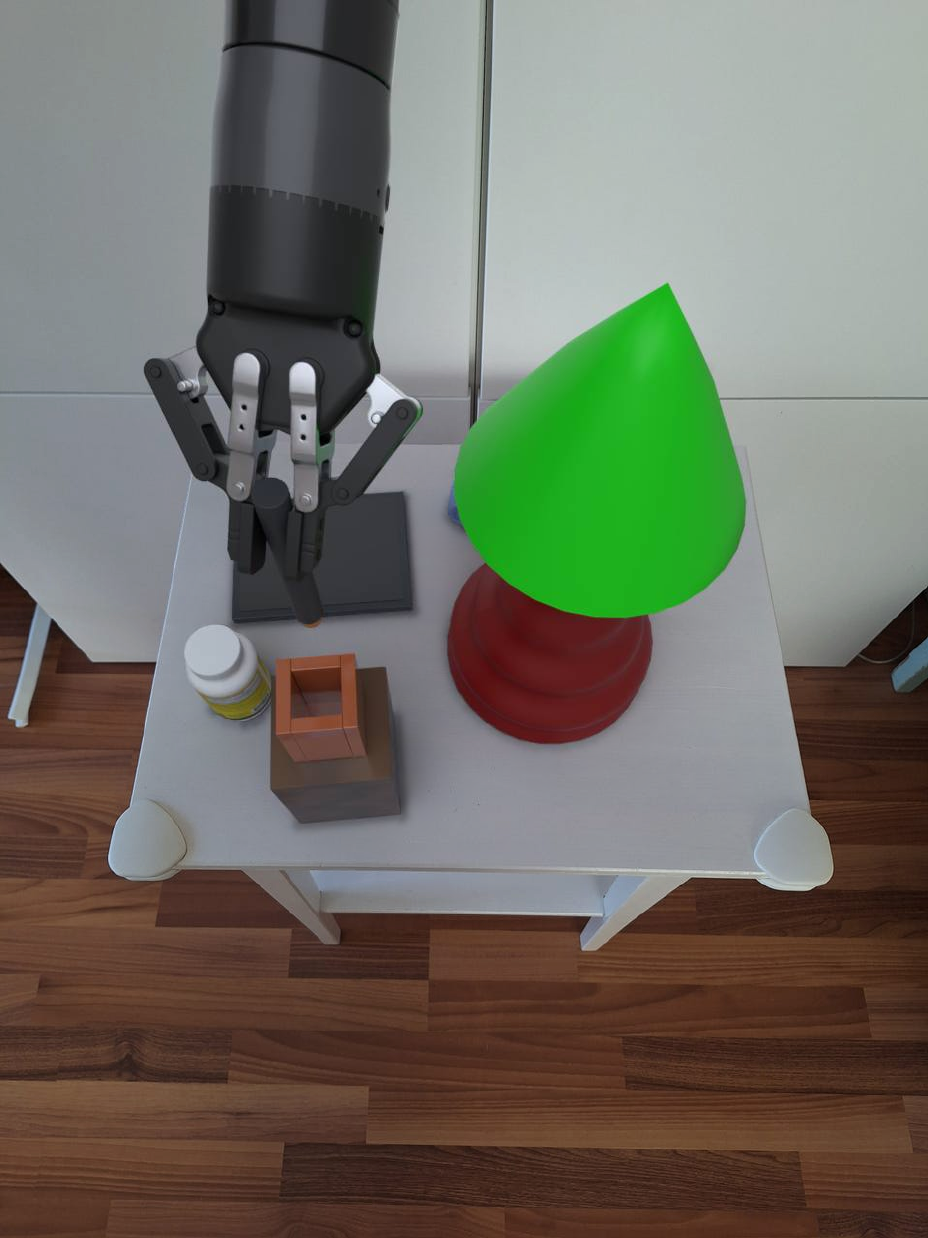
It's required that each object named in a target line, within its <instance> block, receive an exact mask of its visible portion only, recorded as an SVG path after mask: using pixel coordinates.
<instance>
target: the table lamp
mask: <svg viewBox="0 0 928 1238" xmlns="http://www.w3.org/2000/svg"><path fill="white" fill-rule="evenodd" d="M731 437H732V436H731V433H730V430H729V427H728V424H727V420H726V416H725V413H724V410H723V406H722V403H721V400H720V396H719V391H718V388H717V385H716V381H715V379H714V377H713V375H712V372H711V370H710V368H709V366H708V364H707V362H706V359H705V357H704V355H703V353H702V350H701V348H700V346H699V343H698V341H697V339H696V336H695V335H694V332H693V330H692V329H691V327H690V324H689V322H688V320H687V317H686V316H685V314H684V312H683V310H682V308H681V306H680V304H679V302H678V300H677V298H676V295H675V294H674V292H673V290H672V288H671V285H670V284H669V282H665V283H664V284H662V285H661V286H659V287H657V288H656V289H653V290H652V291H651V292H649V293H647V294H646V295H643V296H642V297H640V298H638V299H636V300H635V301H634V302H632V303H630V304H628V305H626V306H625V307H623V308H621V309H620V310H618V311H616V312H615V313H613V314H611V315H610V316H608V317H606V318H605V319H603V320H602V321H600V322H598V323H597V324H595V325H594V326H592V327H591V328H589V329H587V330H586V331H584V332H583V333H581V334H579V335H578V336H576V337H574V338H573V339H571V340H570V341H568V342H567V343H566V344H564V345H563V346H562V347H561V348H559V350H557V351H556V352H555V353H553V354H552V355H551V356H550V357H549V358H548V359H546V360H545V361H543V362H542V363H541V364H539V366H537V367H536V368H535V369H534V370H533V371H531V372H530V373H528V375H526V376H525V377H524V378H522V380H520V381H519V382H518V383H517V384H515V385H514V386H513V387H512V388H510V389H509V390H508V391H507V392H506V393H504V394H503V395H502V396H501V397H500V398H498V399H497V400H496V401H494V403H492V404H491V405H489V407H487V408H486V409H485V410H484V412H482V414H481V415H480V416H479V417H478V418H477V420H476V421H475V422H474V423H473V424H472V426H471V427H470V429H469V431H468V432H467V434H466V436H465V438H464V440H463V442H462V443H461V446H459V447H460V448H459V451H458V456H457V459H456V462H455V466H454V477H453V478H454V480H453V481H454V495H455V500H456V504H457V509H458V514H459V518H460V520H461V523H462V525H461V526H462V527H463V530H464V531H465V533H466V535H467V538H468V539H469V542H470V544H471V545H472V546H473V547H474V549H475V551H477V553H478V554H479V556H480V557H481V558H482V559H483V560H484V563H483V564H481V565H480V566H479V567H478V568H477V569H475V571H473V572H472V574H471V575H470V576H469V577H468V579H467V580H466V581H465V582H464V584H463V585H462V586H461V589H460V591H459V593H458V594H457V597H456V599H455V601H454V604H453V608H452V612H451V617H450V623H449V627H448V631H447V636H446V637H447V641H446V642H447V643H446V645H447V646H446V647H447V648H446V650H447V651H446V652H447V653H446V654H447V660H448V666H449V671H450V674H451V677H452V679H453V682H454V684H455V686H456V690H457V691H458V692H459V694H460V696H461V697H462V698H463V700H464V701H465V702H466V704H467V705H468V707H469V708H471V710H473V711H474V713H476V715H477V716H479V717H480V718H481V719H482V720H483V721H484V722H485V723H487V724H488V725H490V726H492V727H493V728H494V729H496V730H498V731H499V732H500V733H503V734H506V735H507V736H511V737H512V738H515V739H517V740H520V741H525V742H530V743H534V744H540V745H541V744H547V745H548V744H550V745H552V744H553V745H555V744H556V745H557V744H558V745H561V744H566V743H572V742H578V741H582V740H584V739H587V738H590V737H593V736H595V735H598V734H600V733H601V732H602V731H604V730H606V729H607V728H609V727H611V725H613V724H614V723H616V721H617V720H618V719H619V718H621V716H622V715H623V714H624V713H625V712H626V711H627V710H628V709H629V707H630V706H631V704H632V703H633V701H634V699H635V698H636V697H637V695H638V692H639V689H640V687H641V685H642V683H643V682H644V680H645V678H646V675H647V673H648V670H649V668H650V664H651V661H652V654H653V653H652V652H653V646H654V645H653V644H654V640H653V639H654V638H653V633H652V632H653V631H652V622H651V620H650V617H649V615H652V614H658V613H660V612H663V611H666V610H668V609H671V608H674V607H676V606H679V605H682V604H684V603H686V602H687V601H689V600H690V599H692V598H694V597H695V596H697V595H698V594H700V593H702V592H703V591H705V590H706V589H708V587H710V585H711V584H712V583H714V581H716V580H717V578H719V577H720V576H721V574H722V573H724V571H725V570H726V569H727V567H728V565H730V562H731V561H732V559H733V557H734V555H735V554H736V553H737V551H738V549H739V546H740V543H741V540H742V536H743V534H744V529H745V527H746V512H747V497H746V492H745V486H744V479H743V475H742V472H741V469H740V464H739V462H738V459H737V455H736V451H735V448H734V443H733V441H732V438H731Z"/></svg>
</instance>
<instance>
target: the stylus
mask: <svg viewBox="0 0 928 1238" xmlns="http://www.w3.org/2000/svg"><path fill="white" fill-rule="evenodd" d="M251 499H252V502H253V504H254V507H255V510H256V512H257V515H258V518H259V520H260V523H261V526H262V529H263V531H264V534H265V537H266V539H267V542H268V545H269V547H270V550H271V553H272V555H273V558H274V561H275V563H276V566H277V569H278V571H279V574H280V577H281V579H282V582H283V585H284V588H285V590H286V593H287V596H288V598H289V601H290V604H291V606H292V609H293V612H294V614H295V617H296V619H295V620H297V621H298V622H299V623H301V626H303V627H304V628H306V629H315V628H317V627H319V626H320V625H321V624H322V621H323V617H322V615H323V606H322V602H321V599H320V595H319V592H318V589H317V585H316V582H315V578H314V575H313V571H312V572H311V573H309V574H307V576H306V577H305V578H304V579H303V580H302V581H301V582H299V583H295V582H289V581H285V580H284V563H285V549H286V535H287V521H288V511H290V510H292V509H293V508H294V506H293V502H292V497H291V492H290V489H289V486H288V485H287V483H286V482H285V481H284V480H282V479H281V478H278V477H272V476H271V477H268V478H264V479H262V480H260V481H258V482H257V483H256V484H255V485H254V486H253V488H252V490H251Z"/></svg>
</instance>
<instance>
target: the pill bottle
mask: <svg viewBox="0 0 928 1238" xmlns="http://www.w3.org/2000/svg"><path fill="white" fill-rule="evenodd" d="M183 657H184V661H185V674H186V677H187V679H188V681H189V683H190V685H191V686H192V688H193V689H194V690H195V691H196V692H197V694H198V695H199V696H200V697H201V698H202V700H204V701H205V703H206V704H207V705H208V706H209V707H210V709H211V710H212V711H213V712H215V713H216V714H217V715H218V716H219V717H221V718H222V719H223V720H227V721H230V722H235V723H236V722H238V723H239V722H240V723H241V722H246V721H250V720H252V719H255V718H256V717H258V716H259V715H261V714H262V713H263V712H264V711H265V710H266V709H267V708H268V707H269V705H270V704H271V676H272V675H271V674H270V672H269V671H268V669H267V667H266V666H265V663H264V661H263V660H262V657H261V656H260V655H259V653H258V651H257V650H256V648H255V645H254V644H253V642H251V641H250V639H248V637H246V636H245V635H243V634H241V633H238V632H236V631H234V630H233V629H231V628H230V627H228V626H226V625H223V624H208V625H204V626H202V627H200V628H198V629H196V631H194V632H193V633H192V634H191V635H190V636H189V638H188V639H187V641H186V643H185V645H184V650H183Z"/></svg>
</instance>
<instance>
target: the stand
mask: <svg viewBox="0 0 928 1238" xmlns="http://www.w3.org/2000/svg"><path fill="white" fill-rule="evenodd" d="M358 669H359V673H360V676H361V680H362V684H363V688H364V701H365V723H366V745H367V757H358V758H347V759H336V760H324V761H313V762H301V763H295V762H294V761H293V759H292V758H291V756H290V755H289V753H288V752H287V750H286V749H285V747H284V746H283V744H282V743H281V741H280V740H279V738H278V737H277V735H276V674H274V675H273V674H272V675H270V676H271V701H270V748H269V749H270V755H269V758H270V761H269V763H270V764H269V765H270V767H269V768H270V769H269V770H270V771H269V772H270V773H269V789H270V791H271V792H272V793H273V795H275V797H276V798H277V799H278V800H279V801H280V802H281V803H282V804H283V806H284V807H285V808H286V809H287V810H288V812H290V813H291V815H292V816H293V817H294V818H295V819H296V820H297V821H298V823H299V824H301V825H304V824H314V823H326V822H338V821H347V820H359V819H369V818H379V817H391V816H400V815H401V801H400V800H401V799H400V784H399V768H398V753H397V752H398V751H397V750H398V749H397V737H396V721H395V713H394V709H393V707H394V706H393V702H392V695H391V690H390V683H389V678H388V672H387V667H386V666H374V667H362V668H358Z"/></svg>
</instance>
